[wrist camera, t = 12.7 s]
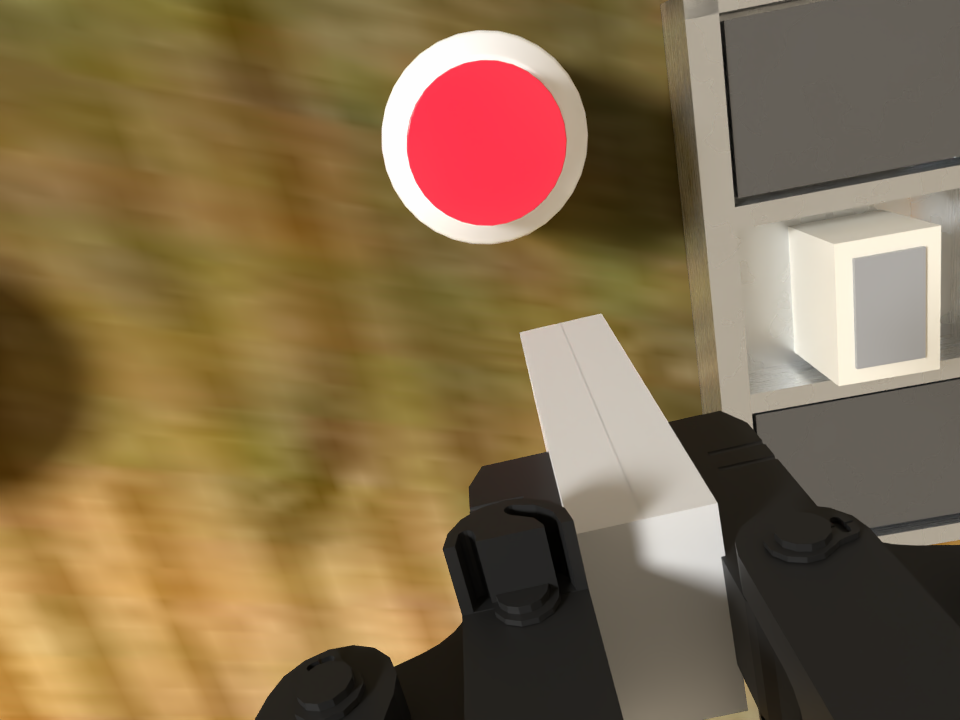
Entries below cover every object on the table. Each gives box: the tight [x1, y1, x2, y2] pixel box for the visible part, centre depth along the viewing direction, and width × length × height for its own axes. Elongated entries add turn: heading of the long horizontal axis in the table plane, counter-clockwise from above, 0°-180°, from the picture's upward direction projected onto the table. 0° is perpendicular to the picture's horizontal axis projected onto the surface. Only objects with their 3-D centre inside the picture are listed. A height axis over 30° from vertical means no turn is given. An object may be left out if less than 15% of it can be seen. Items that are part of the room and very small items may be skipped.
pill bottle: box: [382, 30, 588, 244], centre depth 32 cm, size 8×8×11 cm
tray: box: [661, 0, 960, 545], centre depth 37 cm, size 28×14×4 cm, turn 11°
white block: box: [788, 210, 941, 386], centre depth 36 cm, size 6×4×5 cm
